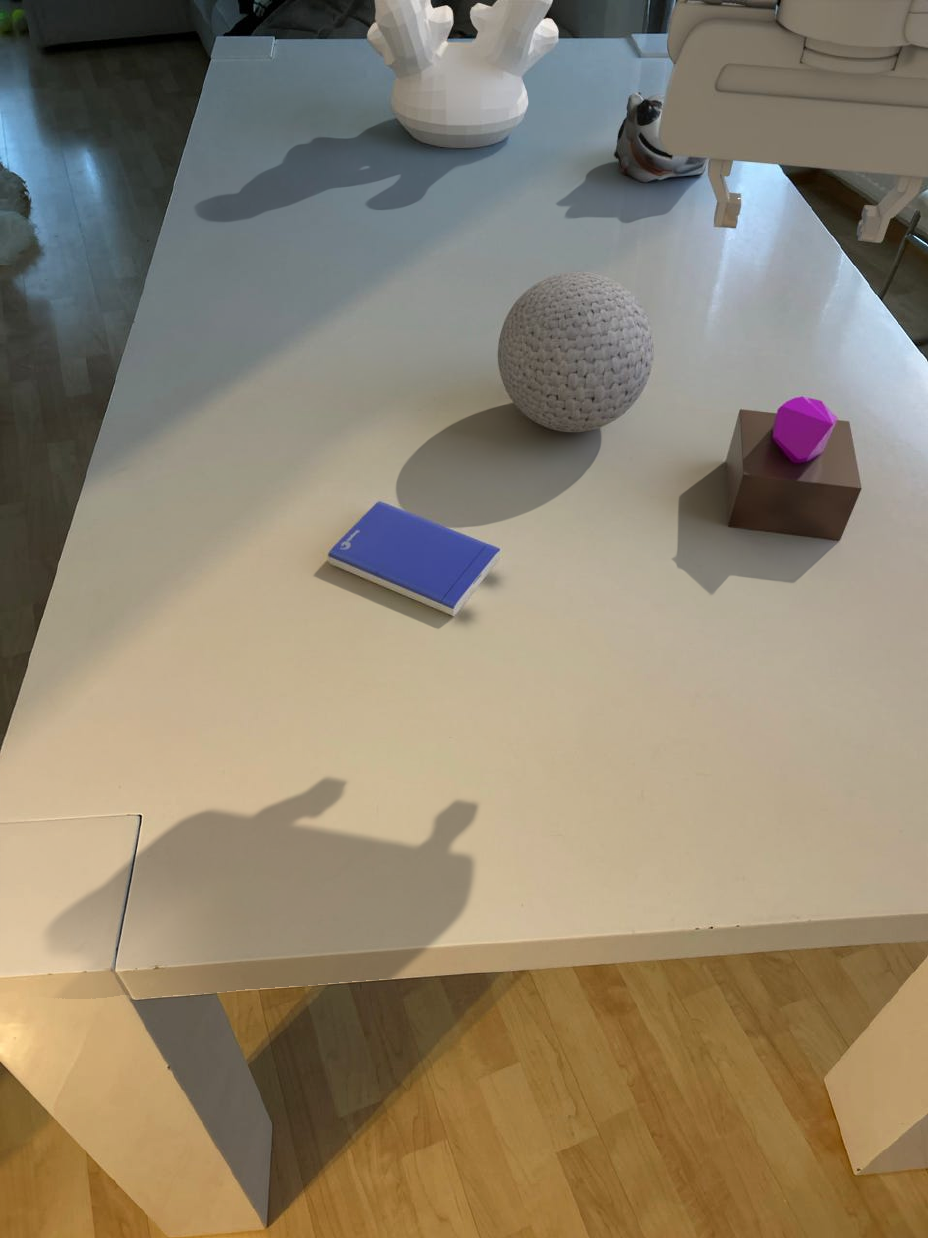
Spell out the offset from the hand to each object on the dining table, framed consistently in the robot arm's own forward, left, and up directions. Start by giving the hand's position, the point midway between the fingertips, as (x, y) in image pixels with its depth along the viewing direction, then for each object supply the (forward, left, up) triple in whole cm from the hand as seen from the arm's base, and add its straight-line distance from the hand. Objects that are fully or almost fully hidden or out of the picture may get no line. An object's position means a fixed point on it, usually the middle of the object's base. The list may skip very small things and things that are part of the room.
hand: (795, 231), depth 63 cm
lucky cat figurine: (+6, -82, -29) cm, 87 cm away
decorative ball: (+14, -17, -29) cm, 36 cm away
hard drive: (+25, +7, -29) cm, 39 cm away
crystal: (-6, -8, -23) cm, 25 cm away
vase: (+38, -92, -29) cm, 104 cm away
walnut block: (-7, -8, -29) cm, 30 cm away
